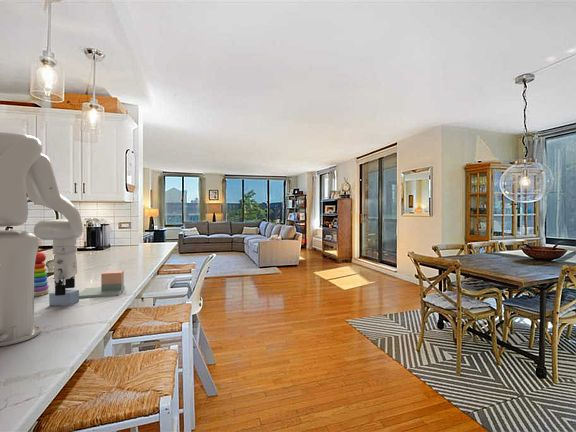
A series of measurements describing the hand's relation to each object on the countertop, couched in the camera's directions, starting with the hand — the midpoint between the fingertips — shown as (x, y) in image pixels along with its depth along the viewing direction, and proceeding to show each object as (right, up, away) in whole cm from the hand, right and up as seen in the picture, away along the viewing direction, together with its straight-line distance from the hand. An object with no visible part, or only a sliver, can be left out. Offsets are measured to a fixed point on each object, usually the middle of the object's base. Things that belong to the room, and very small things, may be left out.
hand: (65, 291), depth 115 cm
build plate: (+5, -5, +15) cm, 16 cm away
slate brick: (0, -5, -1) cm, 5 cm away
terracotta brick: (+9, -1, +17) cm, 19 cm away
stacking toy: (-21, -4, +11) cm, 24 cm away
